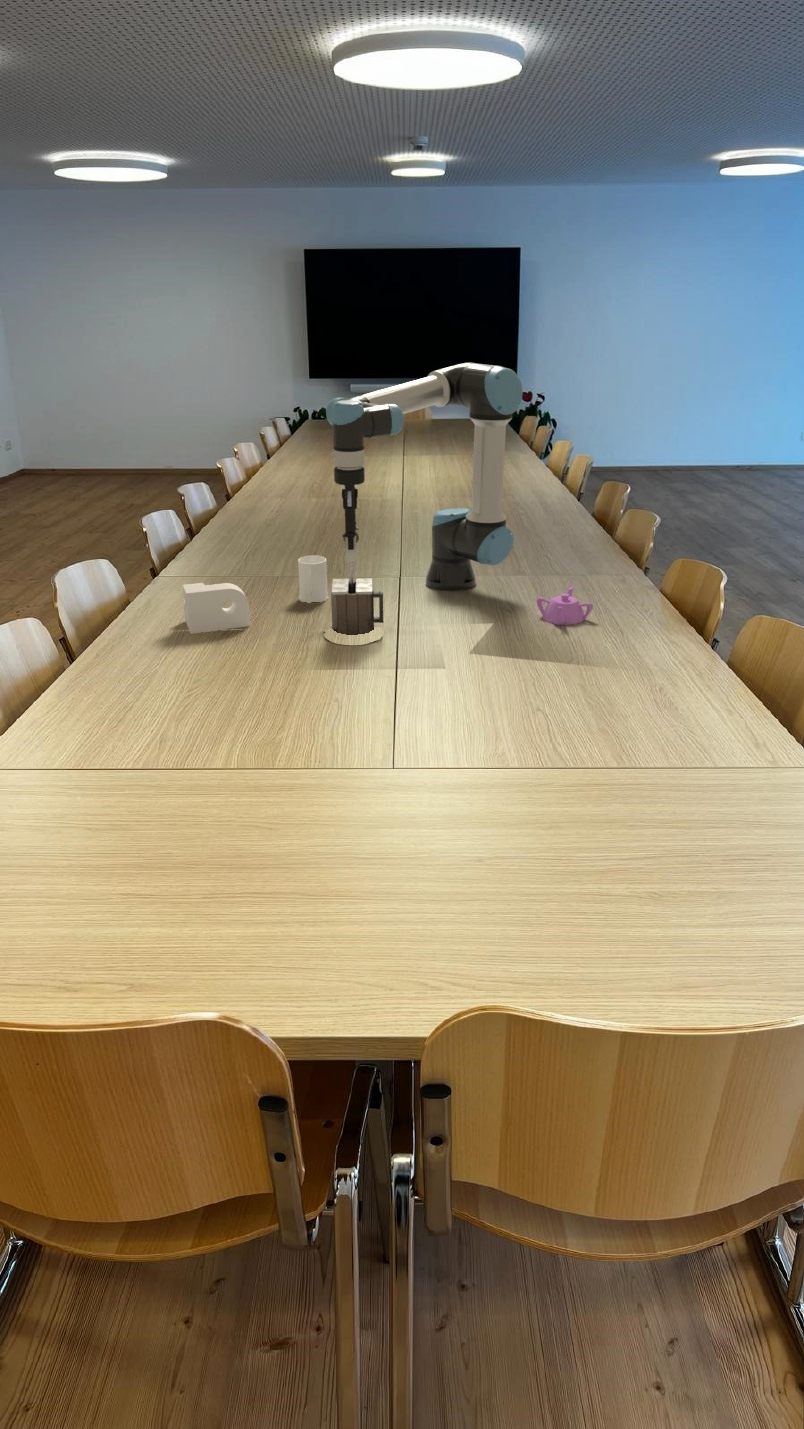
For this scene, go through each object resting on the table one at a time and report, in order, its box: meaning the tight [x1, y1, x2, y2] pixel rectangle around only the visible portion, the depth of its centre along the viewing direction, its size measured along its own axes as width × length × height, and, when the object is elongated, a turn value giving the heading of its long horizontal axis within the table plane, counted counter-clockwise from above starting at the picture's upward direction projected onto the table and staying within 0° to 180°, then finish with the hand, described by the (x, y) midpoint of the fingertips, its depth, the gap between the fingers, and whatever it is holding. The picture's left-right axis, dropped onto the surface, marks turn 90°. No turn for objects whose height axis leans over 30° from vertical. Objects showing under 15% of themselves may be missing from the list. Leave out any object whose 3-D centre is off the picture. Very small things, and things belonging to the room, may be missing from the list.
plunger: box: [342, 530, 360, 594], centre depth 252 cm, size 7×7×21 cm
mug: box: [297, 554, 330, 604], centre depth 280 cm, size 12×8×12 cm
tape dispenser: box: [182, 582, 251, 635], centre depth 262 cm, size 16×10×13 cm, turn 109°
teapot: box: [536, 584, 594, 626], centre depth 263 cm, size 12×14×9 cm
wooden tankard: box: [330, 577, 384, 635], centre depth 257 cm, size 14×12×13 cm
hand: (351, 558), depth 250 cm, fingers closed on plunger, 4 cm apart
